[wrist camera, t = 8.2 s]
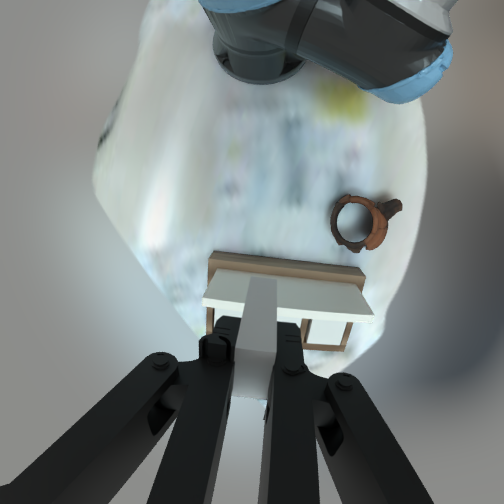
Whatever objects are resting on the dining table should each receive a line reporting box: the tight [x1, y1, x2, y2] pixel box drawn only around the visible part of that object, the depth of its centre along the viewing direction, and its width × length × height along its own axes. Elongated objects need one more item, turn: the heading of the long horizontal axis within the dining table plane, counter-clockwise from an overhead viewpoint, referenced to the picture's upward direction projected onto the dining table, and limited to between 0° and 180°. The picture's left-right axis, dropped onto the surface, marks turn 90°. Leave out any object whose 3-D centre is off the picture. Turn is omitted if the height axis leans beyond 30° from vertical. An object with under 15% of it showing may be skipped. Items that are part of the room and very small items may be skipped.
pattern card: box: [202, 268, 375, 323], centre depth 38 cm, size 2×22×10 cm, turn 84°
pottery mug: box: [330, 194, 402, 253], centre depth 40 cm, size 12×10×8 cm
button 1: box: [214, 308, 243, 326], centre depth 46 cm, size 6×6×3 cm
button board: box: [206, 251, 366, 352], centre depth 46 cm, size 15×25×4 cm, turn 85°
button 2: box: [305, 319, 347, 345], centre depth 45 cm, size 6×6×3 cm
